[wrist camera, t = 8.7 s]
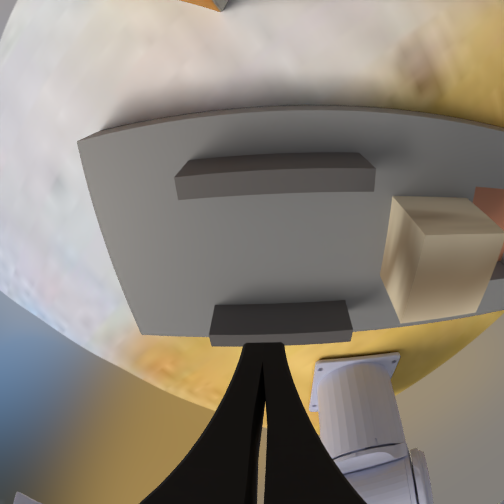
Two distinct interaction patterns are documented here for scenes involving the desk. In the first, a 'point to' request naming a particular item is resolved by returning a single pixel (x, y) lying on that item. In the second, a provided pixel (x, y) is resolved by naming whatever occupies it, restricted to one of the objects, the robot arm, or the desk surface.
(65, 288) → the desk surface
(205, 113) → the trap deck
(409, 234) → the maple block
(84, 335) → the desk surface
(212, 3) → the small box
